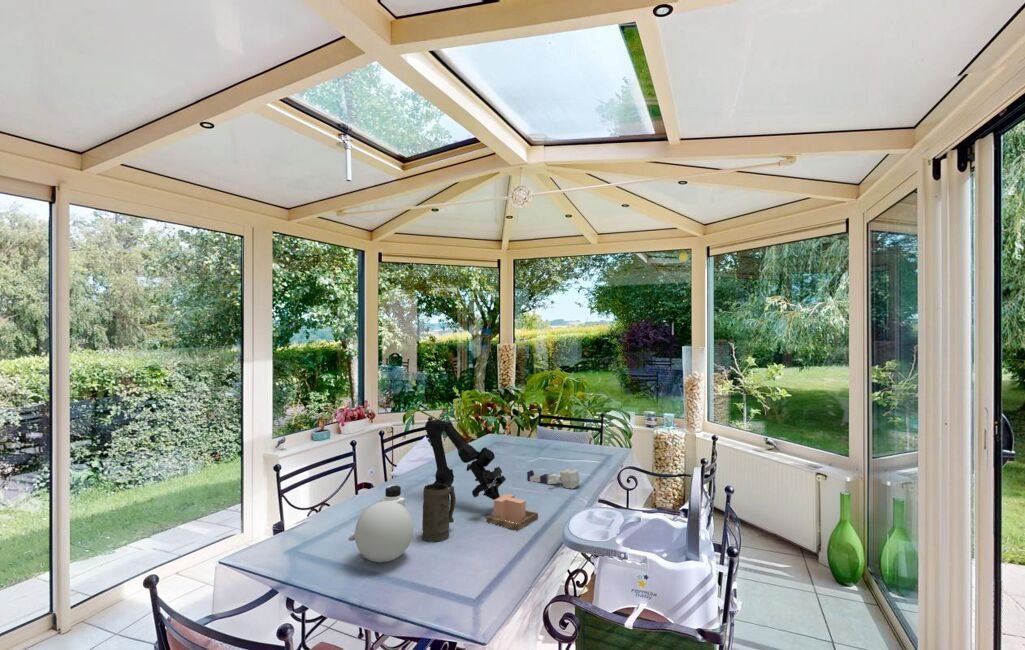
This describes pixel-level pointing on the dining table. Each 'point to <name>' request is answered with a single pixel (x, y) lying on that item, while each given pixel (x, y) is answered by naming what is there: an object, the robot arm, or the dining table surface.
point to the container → (394, 495)
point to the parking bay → (531, 518)
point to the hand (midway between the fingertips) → (500, 502)
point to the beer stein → (437, 511)
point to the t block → (509, 508)
